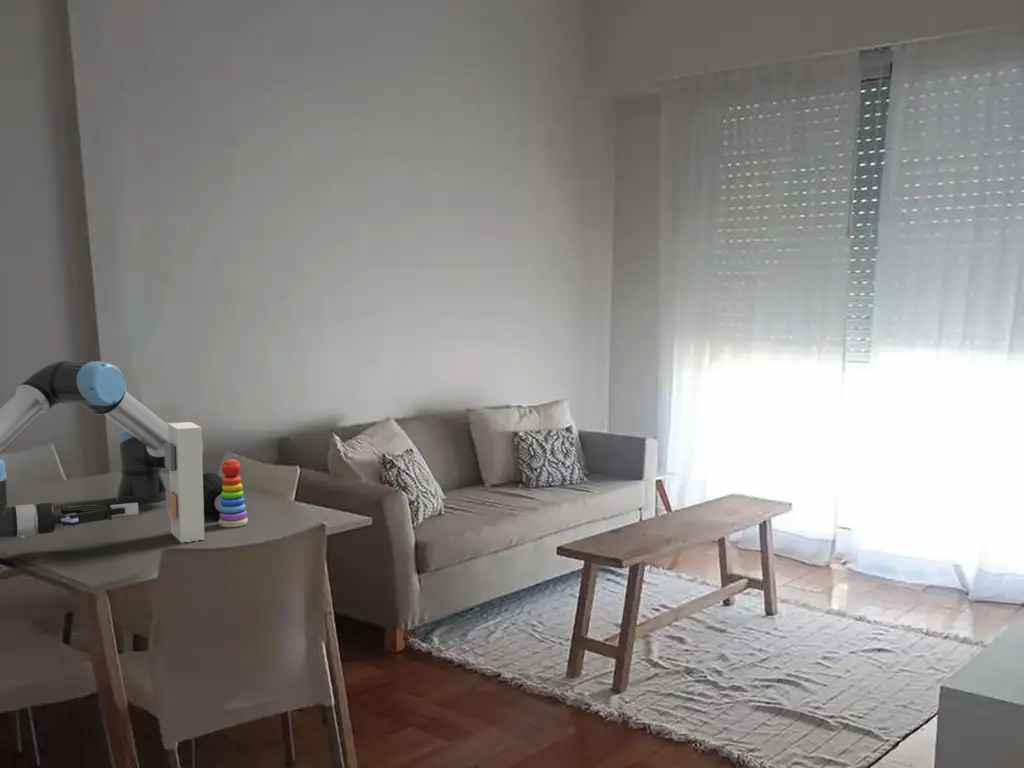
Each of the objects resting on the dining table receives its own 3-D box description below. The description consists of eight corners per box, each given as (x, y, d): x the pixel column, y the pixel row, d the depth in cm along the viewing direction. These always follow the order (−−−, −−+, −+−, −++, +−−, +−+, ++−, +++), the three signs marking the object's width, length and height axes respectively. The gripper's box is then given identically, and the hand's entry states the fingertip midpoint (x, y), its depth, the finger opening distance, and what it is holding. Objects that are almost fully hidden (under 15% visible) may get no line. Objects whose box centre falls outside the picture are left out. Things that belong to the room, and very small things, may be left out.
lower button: (166, 514, 247) (165, 490, 246) (193, 511, 251) (192, 488, 250) (172, 520, 241) (171, 496, 240) (200, 517, 244) (199, 493, 244)
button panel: (171, 533, 250) (167, 423, 247) (193, 530, 253) (190, 421, 251) (180, 543, 240) (177, 429, 237) (204, 540, 243) (201, 427, 240)
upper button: (165, 466, 246) (164, 442, 245) (192, 464, 249) (191, 440, 249) (171, 471, 239) (170, 446, 239) (198, 468, 243) (198, 444, 242)
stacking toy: (217, 522, 262) (216, 457, 260) (246, 520, 265) (245, 455, 263) (219, 529, 255) (217, 462, 253) (249, 526, 258) (247, 460, 256)
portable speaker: (243, 518, 267) (242, 484, 266) (207, 522, 263) (206, 488, 262) (223, 501, 290) (223, 470, 289) (190, 504, 285) (190, 472, 284)
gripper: (34, 528, 233) (133, 517, 245) (38, 540, 222) (143, 527, 234) (32, 499, 232) (132, 489, 245) (37, 509, 221) (142, 498, 234)
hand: (137, 508), depth 239 cm, fingers closed
